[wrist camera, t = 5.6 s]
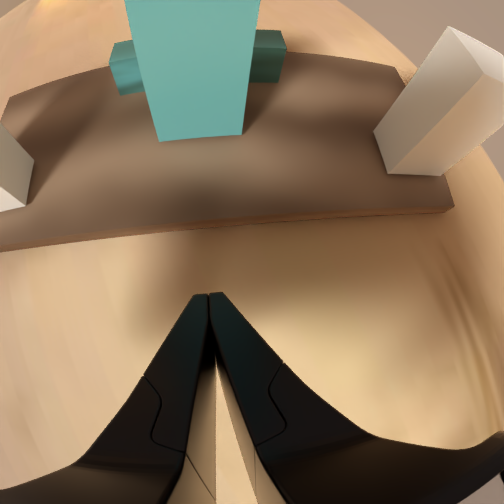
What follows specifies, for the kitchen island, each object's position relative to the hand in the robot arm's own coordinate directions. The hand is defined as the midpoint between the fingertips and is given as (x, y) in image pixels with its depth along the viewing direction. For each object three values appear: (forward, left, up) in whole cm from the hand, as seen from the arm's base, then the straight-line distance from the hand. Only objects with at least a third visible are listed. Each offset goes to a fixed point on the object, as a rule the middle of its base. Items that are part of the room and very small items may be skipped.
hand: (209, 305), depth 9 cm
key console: (+7, +8, -6) cm, 12 cm away
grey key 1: (+15, -2, -5) cm, 15 cm away
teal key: (+7, +8, -5) cm, 11 cm away
